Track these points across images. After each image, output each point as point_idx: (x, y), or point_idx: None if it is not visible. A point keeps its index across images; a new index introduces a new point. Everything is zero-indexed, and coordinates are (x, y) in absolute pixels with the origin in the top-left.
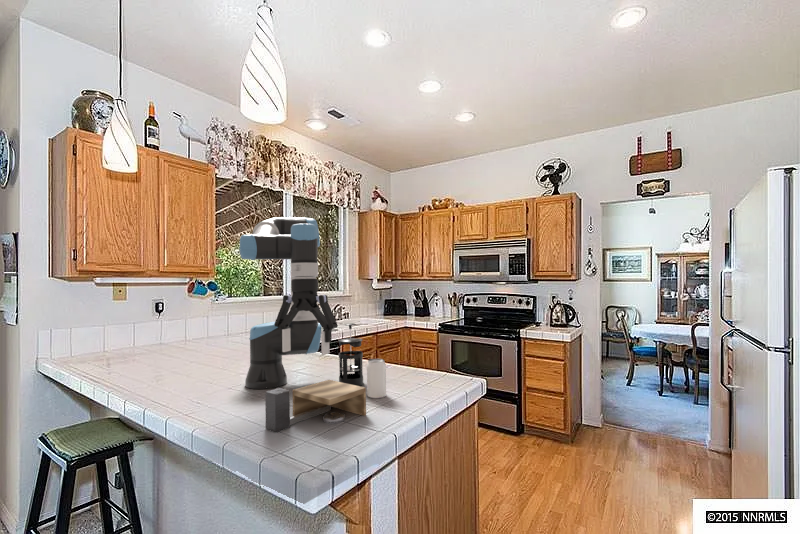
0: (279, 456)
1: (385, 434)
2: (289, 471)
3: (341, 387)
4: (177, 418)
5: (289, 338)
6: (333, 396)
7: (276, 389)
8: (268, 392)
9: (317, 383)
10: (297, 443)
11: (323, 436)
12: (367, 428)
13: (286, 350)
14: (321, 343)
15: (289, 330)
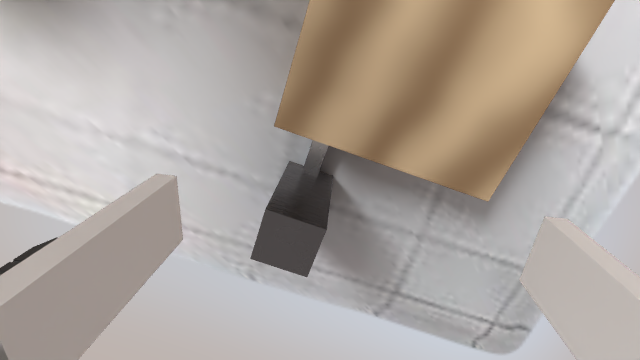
0: (401, 303)
1: (634, 150)
2: (450, 340)
3: (483, 23)
4: (9, 195)
5: (109, 243)
6: (490, 164)
7: (269, 229)
8: (268, 264)
9: None
10: (406, 250)
11: (452, 203)
12: (569, 122)
13: (175, 223)
14: (572, 353)
15: (25, 309)
